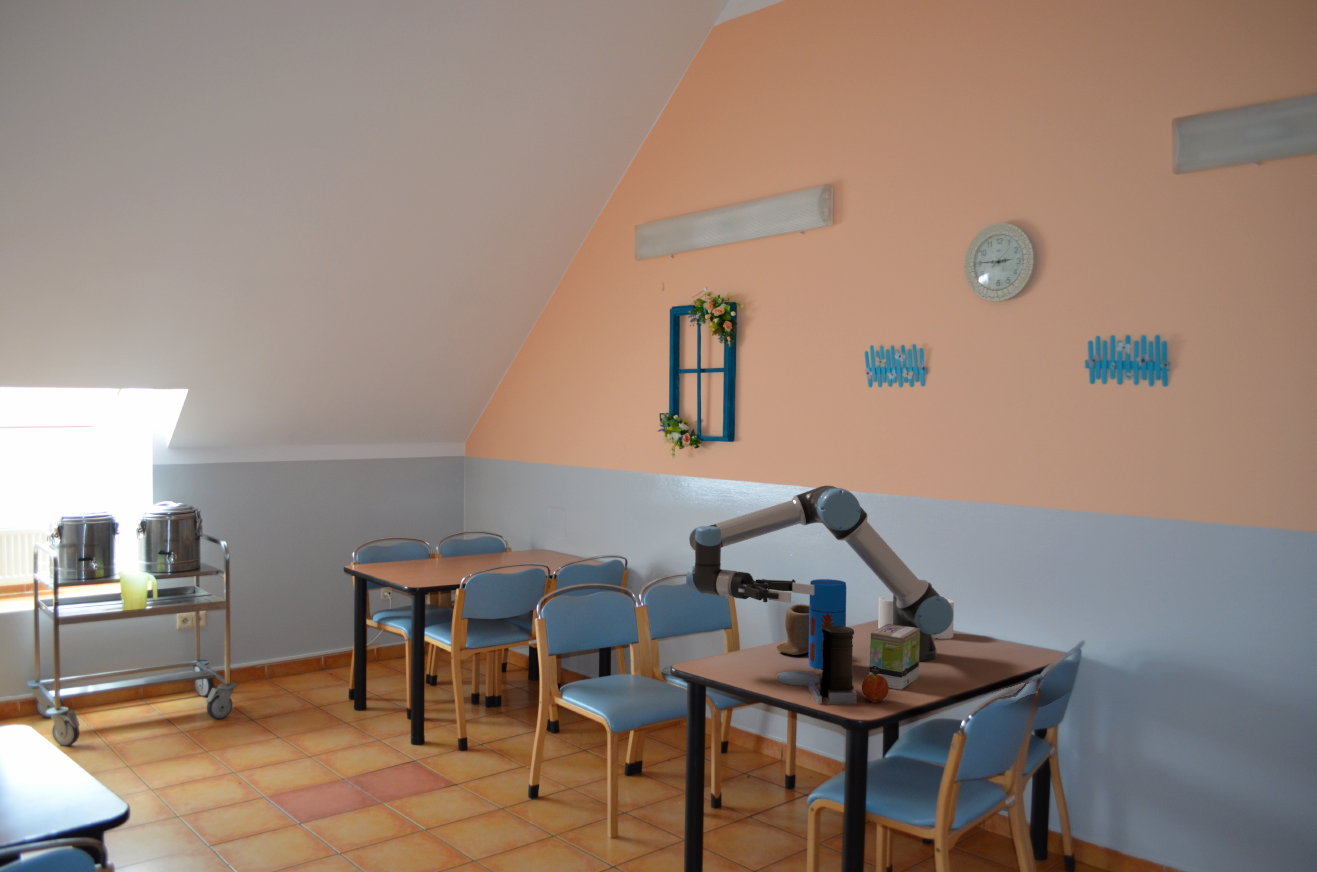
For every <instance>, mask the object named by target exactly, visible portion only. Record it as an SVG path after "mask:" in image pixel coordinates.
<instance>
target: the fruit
mask: <svg viewBox="0 0 1317 872" xmlns="http://www.w3.org/2000/svg"><path fill="white" fill-rule="evenodd" d="M876 674H877V671H876ZM876 674H872V675H869V674H868V675H867V676H865V677H863V680H862V682H861V691H862V694H863V696H864V697H865V698H866V699H867V700H869V701H871V702H872V703H880V702H881V701H884V699H886V698H887V697H888V694H889V692H890V691H889V690H890V688H889V686H888V683H887V681H886V679H885V678H884V677H882V676H880V675H876Z"/></svg>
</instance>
